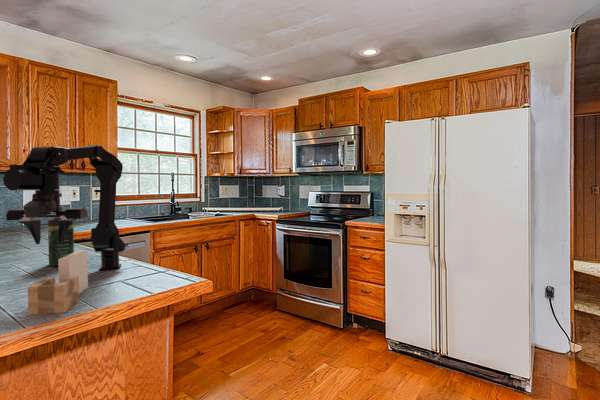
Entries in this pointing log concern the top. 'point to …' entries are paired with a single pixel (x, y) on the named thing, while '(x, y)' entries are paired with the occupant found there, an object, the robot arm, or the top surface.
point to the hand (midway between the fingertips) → (49, 243)
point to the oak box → (53, 295)
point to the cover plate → (74, 268)
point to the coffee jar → (54, 247)
